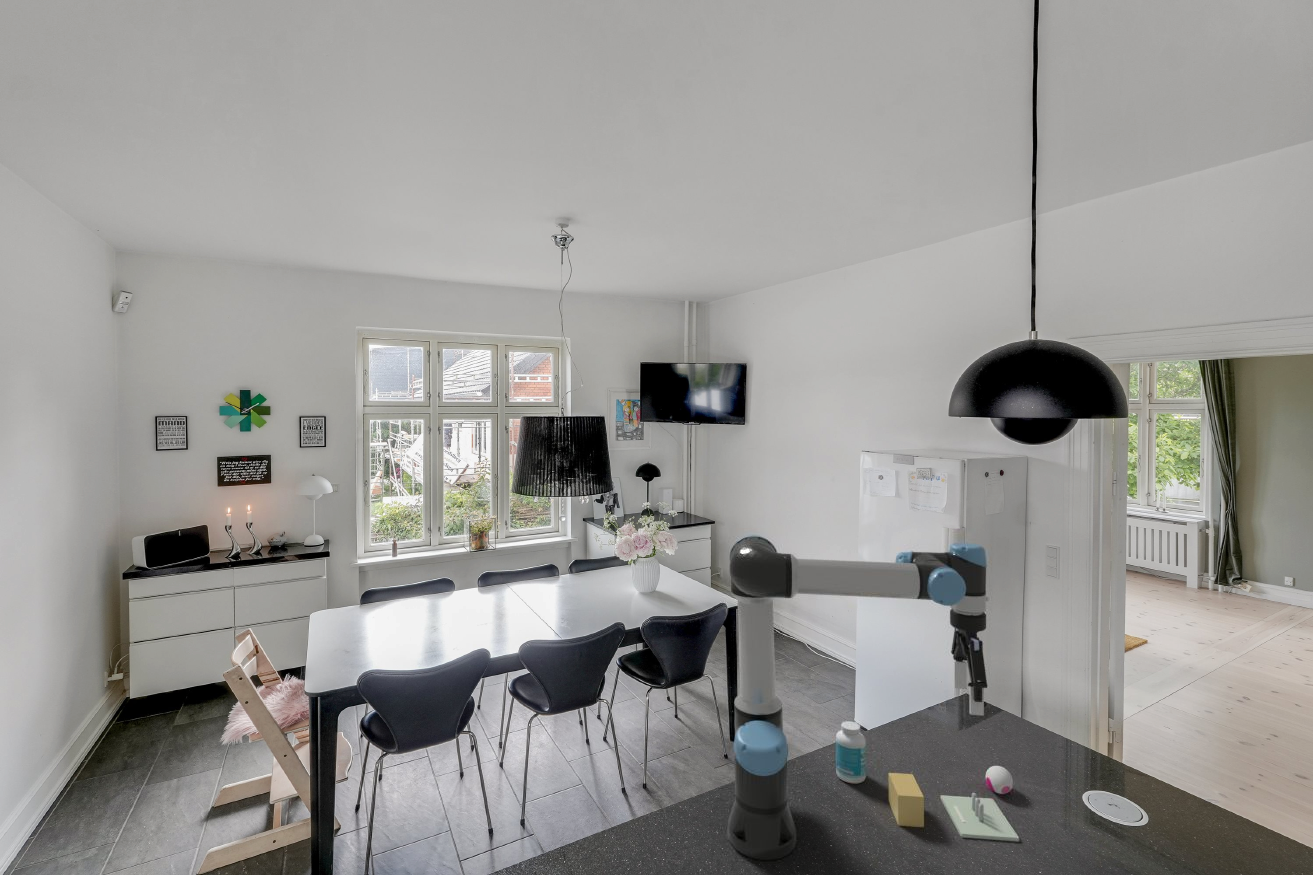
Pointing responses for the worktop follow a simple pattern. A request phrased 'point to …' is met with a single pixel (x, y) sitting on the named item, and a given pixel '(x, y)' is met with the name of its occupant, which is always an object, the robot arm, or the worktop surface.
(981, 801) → the board
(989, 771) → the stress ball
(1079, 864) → the worktop surface
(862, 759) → the pill bottle
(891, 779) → the tan yellow block
